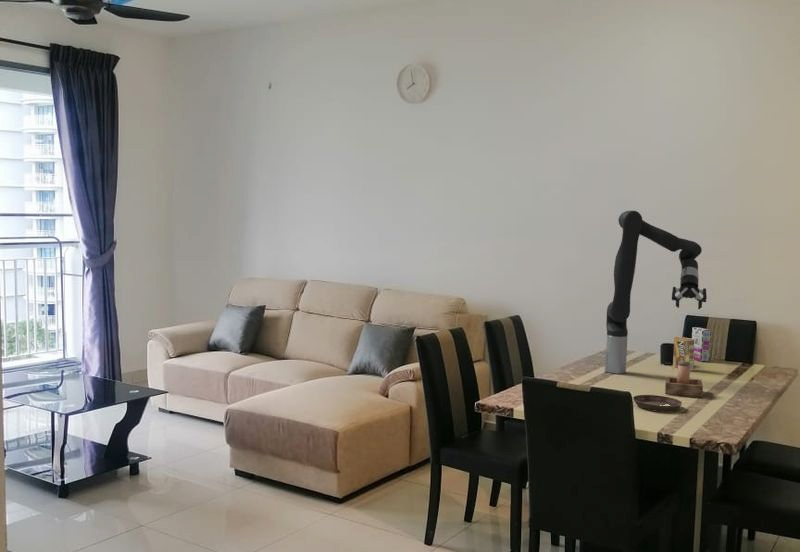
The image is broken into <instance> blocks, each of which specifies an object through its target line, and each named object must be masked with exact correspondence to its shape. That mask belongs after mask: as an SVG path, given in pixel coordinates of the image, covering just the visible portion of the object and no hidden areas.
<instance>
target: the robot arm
mask: <svg viewBox="0 0 800 552" xmlns="http://www.w3.org/2000/svg"><path fill="white" fill-rule="evenodd" d="M618 224H619V226H620V228H621V229H622V234H621V235H622V236H621V237H622V238H621V242H620V245H619V248H618V250H617V253H616V256H615V261H614V266H613V283H614V293H613V299H612V301H611V302H610V303H609V304H608V306H607V309H606V322H605V324H606V325H605V327H606V346H605V347H606V348H605V349H606V350H605V358H604V359H605V360H604V361H605V362H604V372H605V373H610V374H617V375H619V374H626V371H627V355H628V351H627V350H628V334H629V333H628V332H629V331H628V325H627V324H628V323H627V322H628V318H629V316H630V314H631V296H632V295H631V294H632V289H633V288H632V287H633V285H634V284H633V283H634V278H635V273H636V264H637V254H638V245H639V239H640V238H639V237H640V236H642V237H644V238H646V239H648V240H650V241H652V242H654V243H655V244H657V245H658V246H661V247H662V248H665V249H666V250H668V251H670V252H672V253H674V252H677V251H679V250H680V251H679V254H678V260H679V262H680V264H681V271H680V272H681V273H680V286H679V287H678V288H677V287H676V286H673V287H672V294H671V301H675V307H677V309H679V308H680V302H681V300H683V299H694V300H695V301H697V302H698V303H697V304H698V306H697V308H698V310H700V309H702V308H703V303H706V302H707V299H708V298H707V288H705V287H703V289H700V288H699V280H700V279H699V277H700V276H699V263H698V261H697V260H696V258H698V257H699V256H700V255H701V254H702V251H703V250H702V246H701V244H699V243H697V242H696V241H693V240H690V239H685V238H681V237H678V236H676V235H674V234H673V233H671V232H668V231H666V230H664V229H662V228H659V227H656V226H654V225H652V224H650V223H648V222H647V221H644V219H643V216H642V215H641V213H640V212H638V211H637V210H626V211H623V212H622V213H620V215H619V217H618ZM678 292H679V293H678ZM677 293H678V295H676V294H677ZM700 294H701V295H702V296H701V295H700Z"/></svg>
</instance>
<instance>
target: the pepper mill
mask: <svg viewBox="0 0 800 552" xmlns="http://www.w3.org/2000/svg"><path fill="white" fill-rule="evenodd" d="M690 374H691V371H690V362H687V361H679V365H678V369H677V375H676V376H677V377H676V378H677V383H680V384H689V379H691V377H690V376H691V375H690Z"/></svg>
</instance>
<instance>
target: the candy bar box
mask: <svg viewBox="0 0 800 552" xmlns="http://www.w3.org/2000/svg"><path fill="white" fill-rule="evenodd" d="M691 339H695V342H694V361H698V362H701V363H705V362H706V363H709V362H710V357H711V343H712V342H711V340H712V330H711V329H708V328H703V327H692V330H691Z"/></svg>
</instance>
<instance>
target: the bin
mask: <svg viewBox="0 0 800 552" xmlns="http://www.w3.org/2000/svg"><path fill="white" fill-rule="evenodd" d="M703 385H704V384H703V381H702V379H699V378H690V379H689V384H680V383H677V377H675V376H665V386H664V387H665V389H664V390H665V391H664V392H665V393H664V395H665V394H669V395H668V396H675V395H678V396H677V397H685V396H689V398H696V399H703V392H704V391H703Z"/></svg>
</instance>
